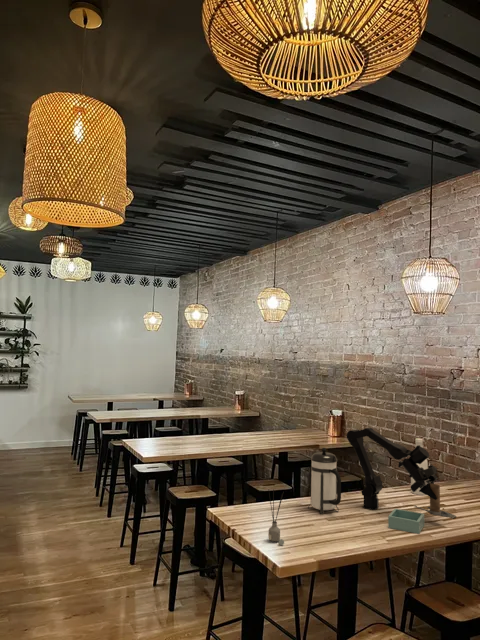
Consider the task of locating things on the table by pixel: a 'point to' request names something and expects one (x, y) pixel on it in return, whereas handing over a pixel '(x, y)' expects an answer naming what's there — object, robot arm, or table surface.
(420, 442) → the alcohol
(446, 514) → the driftwood
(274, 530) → the reed diffuser
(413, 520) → the green square tray
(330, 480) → the coffee press
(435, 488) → the brown tower block
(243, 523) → the table surface
